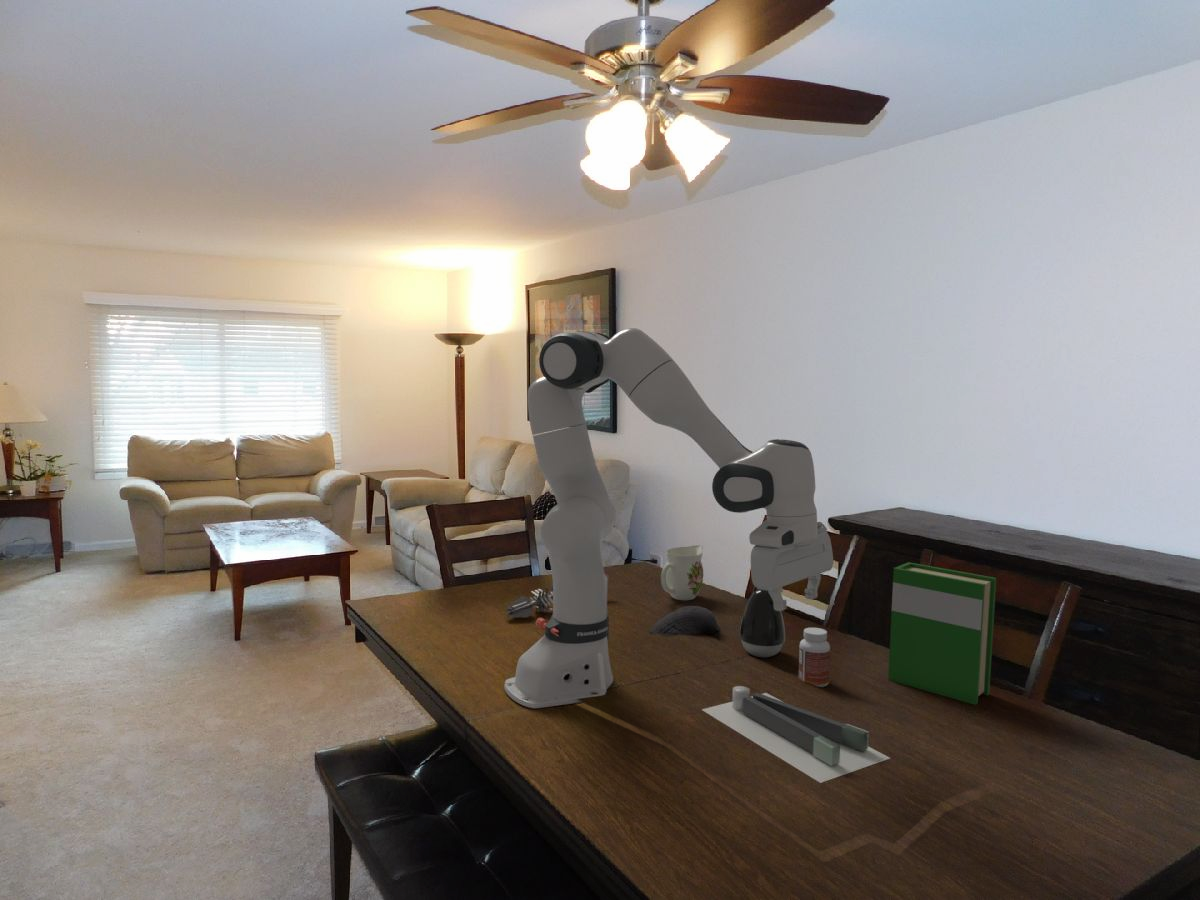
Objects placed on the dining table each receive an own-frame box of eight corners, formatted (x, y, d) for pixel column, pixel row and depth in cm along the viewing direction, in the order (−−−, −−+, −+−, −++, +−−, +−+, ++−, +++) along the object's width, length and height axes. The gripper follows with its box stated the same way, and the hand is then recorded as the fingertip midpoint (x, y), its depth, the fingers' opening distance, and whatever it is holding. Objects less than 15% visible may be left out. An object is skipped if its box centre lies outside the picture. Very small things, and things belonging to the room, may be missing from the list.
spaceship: (620, 573, 218) (602, 557, 223) (517, 609, 196) (500, 591, 201) (614, 595, 222) (597, 580, 227) (513, 634, 200) (496, 616, 205)
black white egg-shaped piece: (758, 664, 172) (761, 597, 171) (730, 649, 181) (732, 585, 180) (794, 657, 177) (797, 591, 175) (764, 643, 186) (766, 580, 184)
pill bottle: (835, 684, 162) (837, 632, 161) (815, 690, 158) (817, 637, 157) (812, 674, 167) (814, 624, 166) (792, 680, 163) (793, 629, 162)
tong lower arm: (727, 706, 148) (727, 688, 147) (741, 703, 150) (742, 684, 149) (831, 767, 125) (832, 746, 125) (847, 762, 127) (848, 741, 127)
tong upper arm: (752, 710, 146) (753, 694, 145) (758, 707, 147) (758, 692, 147) (862, 752, 130) (863, 734, 130) (867, 748, 131) (868, 731, 131)
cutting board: (820, 788, 121) (820, 782, 121) (701, 714, 147) (701, 709, 147) (890, 763, 129) (890, 758, 129) (765, 697, 155) (766, 692, 155)
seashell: (733, 643, 193) (737, 611, 193) (670, 647, 184) (674, 613, 184) (699, 625, 206) (703, 595, 205) (638, 628, 196) (642, 596, 196)
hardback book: (989, 694, 157) (996, 578, 155) (976, 705, 152) (983, 584, 150) (903, 670, 170) (908, 562, 167) (888, 679, 164) (893, 568, 162)
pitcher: (646, 600, 220) (647, 552, 218) (684, 587, 233) (685, 542, 232) (677, 608, 212) (678, 559, 211) (715, 595, 226) (716, 548, 224)
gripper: (811, 518, 150) (814, 589, 151) (742, 536, 137) (747, 613, 138) (839, 521, 145) (843, 594, 146) (772, 539, 132) (776, 620, 133)
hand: (796, 604), depth 142 cm, fingers open, 8 cm apart
